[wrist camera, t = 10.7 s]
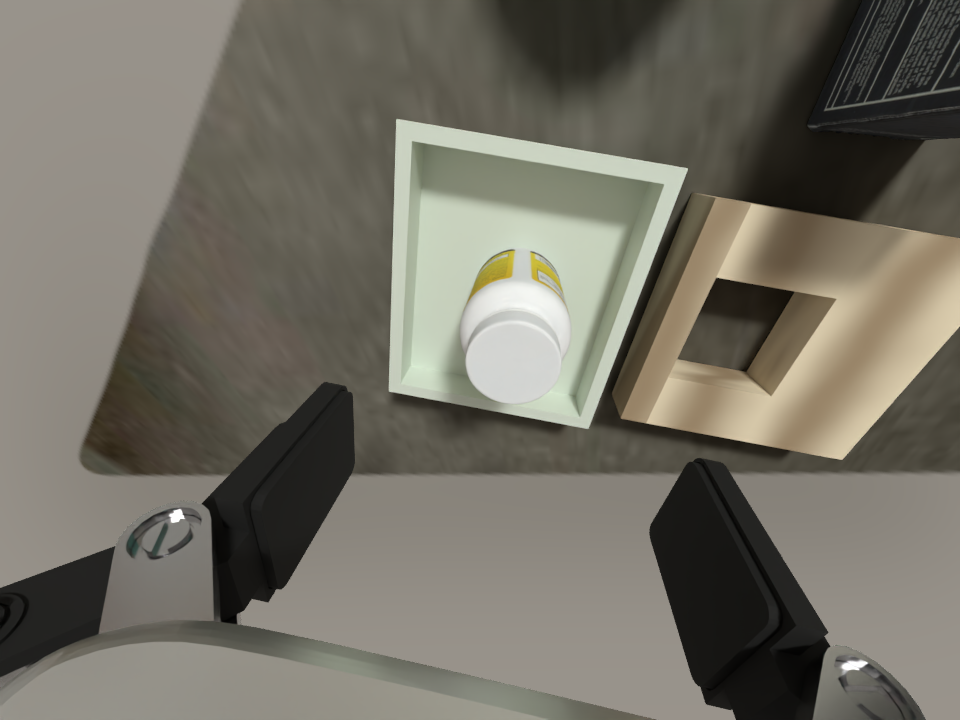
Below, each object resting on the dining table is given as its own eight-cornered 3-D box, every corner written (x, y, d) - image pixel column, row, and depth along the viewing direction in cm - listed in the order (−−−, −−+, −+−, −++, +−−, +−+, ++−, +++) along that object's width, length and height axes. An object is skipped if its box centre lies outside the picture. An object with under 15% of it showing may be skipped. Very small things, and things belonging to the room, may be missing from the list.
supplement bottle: (470, 321, 25) (441, 406, 16) (481, 239, 22) (452, 290, 14) (549, 334, 25) (561, 427, 16) (570, 253, 22) (597, 314, 13)
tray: (663, 166, 20) (688, 168, 17) (581, 399, 28) (588, 428, 25) (415, 124, 21) (396, 118, 17) (403, 366, 28) (388, 391, 25)
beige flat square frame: (961, 238, 20) (1026, 250, 18) (811, 430, 27) (841, 459, 25) (692, 192, 21) (716, 197, 18) (611, 393, 28) (620, 418, 25)
